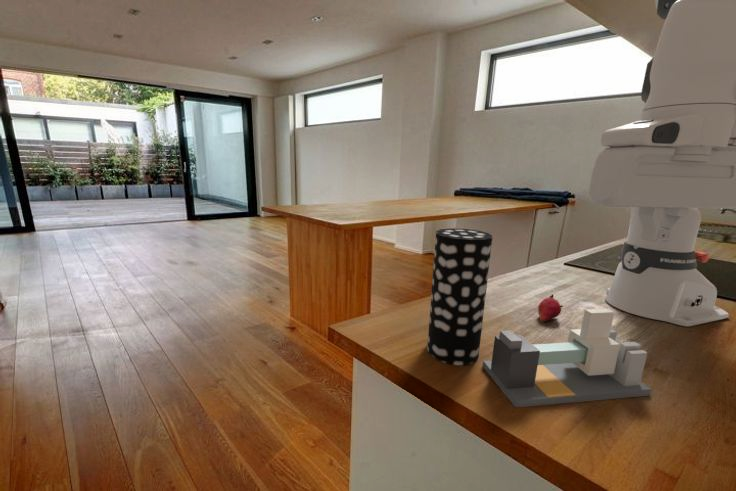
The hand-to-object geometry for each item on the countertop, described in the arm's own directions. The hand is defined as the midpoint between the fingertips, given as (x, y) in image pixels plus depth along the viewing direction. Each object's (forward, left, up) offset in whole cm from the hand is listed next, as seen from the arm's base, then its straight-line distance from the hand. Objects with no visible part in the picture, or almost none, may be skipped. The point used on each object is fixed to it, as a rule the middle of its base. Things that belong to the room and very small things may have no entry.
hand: (655, 240), depth 46 cm
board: (+11, 0, -21) cm, 23 cm away
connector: (+19, 0, -21) cm, 28 cm away
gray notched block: (+3, 0, -21) cm, 21 cm away
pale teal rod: (+11, 0, -17) cm, 20 cm away
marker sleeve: (+7, 0, -19) cm, 20 cm away
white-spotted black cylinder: (+23, -9, -21) cm, 33 cm away
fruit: (-1, -19, -21) cm, 28 cm away
